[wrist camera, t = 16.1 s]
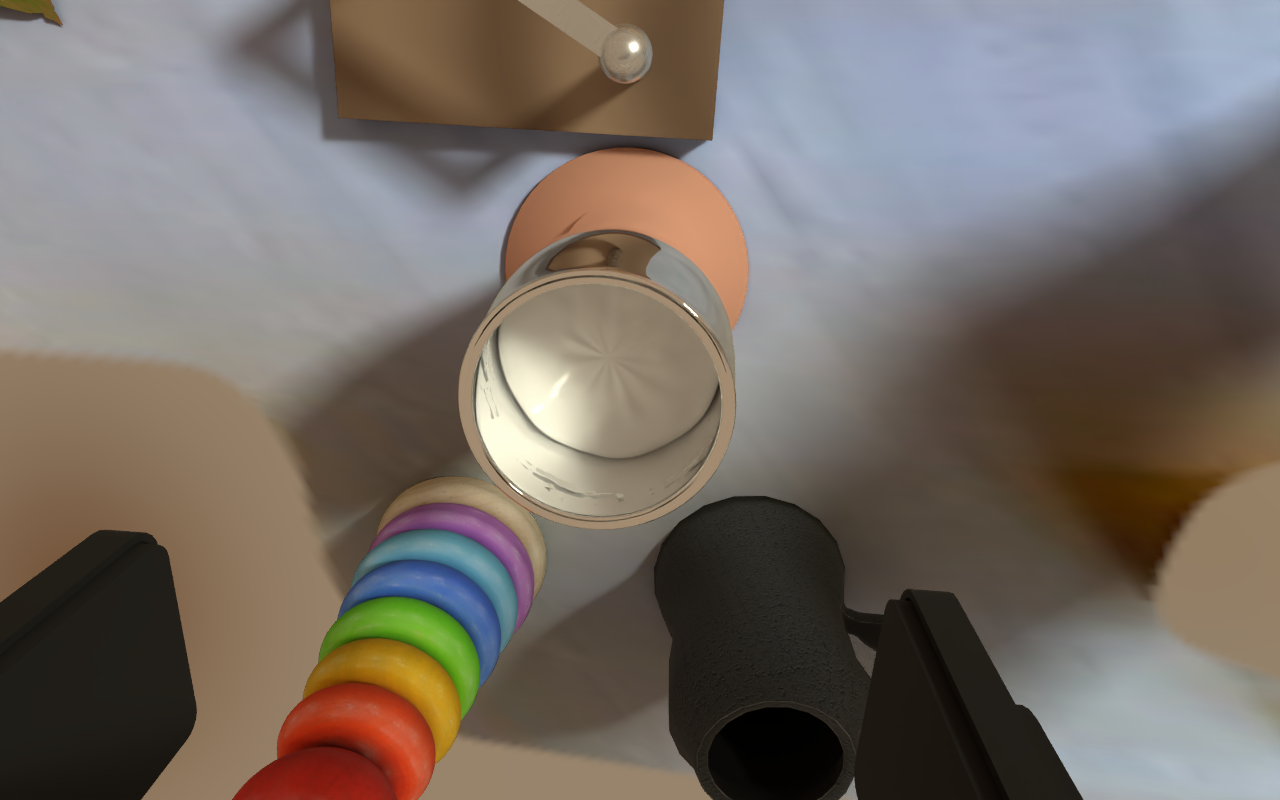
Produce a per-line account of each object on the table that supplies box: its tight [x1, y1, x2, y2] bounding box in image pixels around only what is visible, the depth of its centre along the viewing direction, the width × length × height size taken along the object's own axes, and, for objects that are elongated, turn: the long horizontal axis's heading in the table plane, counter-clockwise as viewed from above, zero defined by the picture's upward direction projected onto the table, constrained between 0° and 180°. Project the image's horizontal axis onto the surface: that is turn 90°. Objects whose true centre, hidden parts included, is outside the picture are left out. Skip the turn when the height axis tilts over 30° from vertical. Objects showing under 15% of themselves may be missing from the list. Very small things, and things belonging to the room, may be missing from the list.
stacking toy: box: [232, 476, 546, 800], centre depth 29 cm, size 8×8×19 cm
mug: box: [654, 496, 884, 800], centre depth 33 cm, size 12×9×11 cm
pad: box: [505, 147, 749, 331], centre depth 33 cm, size 10×10×1 cm
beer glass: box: [458, 200, 736, 530], centre depth 25 cm, size 7×7×15 cm
